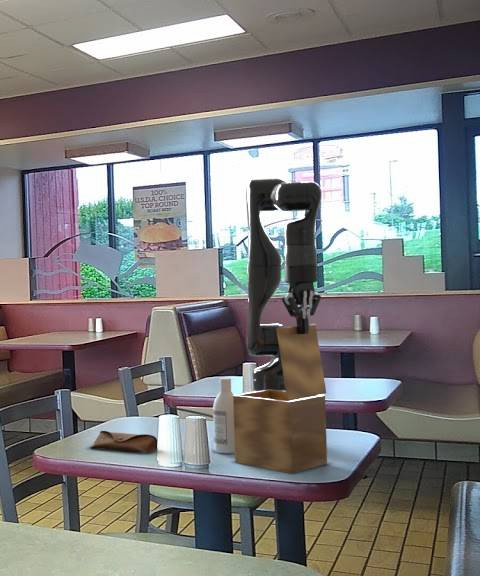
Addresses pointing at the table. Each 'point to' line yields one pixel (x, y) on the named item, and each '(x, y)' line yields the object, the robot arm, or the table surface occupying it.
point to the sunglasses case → (125, 442)
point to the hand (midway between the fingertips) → (302, 333)
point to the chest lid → (301, 362)
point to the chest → (280, 431)
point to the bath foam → (224, 419)
